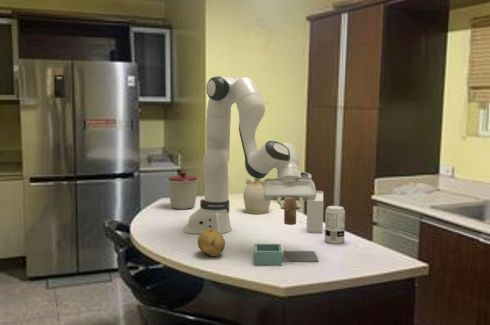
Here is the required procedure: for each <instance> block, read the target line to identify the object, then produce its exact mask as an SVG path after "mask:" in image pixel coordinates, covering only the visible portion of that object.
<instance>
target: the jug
mask: <svg viewBox="0 0 490 325" xmlns="http://www.w3.org/2000/svg"><path fill="white" fill-rule="evenodd" d="M253 178H254V177H253ZM266 179H267V178H265V179H264V180H266ZM245 184H246V186H245V188H244V190H243V194H242V196H243V202H244V208H245V212H246V213H248V214H251V215H264V214H268V212H269V210H270V205H271V202H272V200H265V199H264V187H263V181H261V179H259V178H254V181H251V179H248V178H246V179H245Z"/></svg>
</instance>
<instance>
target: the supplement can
mask: <svg viewBox="0 0 490 325" xmlns="http://www.w3.org/2000/svg"><path fill="white" fill-rule="evenodd" d="M345 221H346V210H345V209H344V207H343V206H341V205H329V206H327V207H326V209H325V221H324V223H325V224H324V241H326V243H329V244H332V245H333V244H335V245H337V244H343V242H344V241H345V229H346V228H345V226H346V225H345V224H346V222H345Z"/></svg>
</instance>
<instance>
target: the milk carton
mask: <svg viewBox="0 0 490 325" xmlns="http://www.w3.org/2000/svg"><path fill="white" fill-rule="evenodd" d="M323 228H324V190H316V198H315V200H313V201H311V200H306V232H307V233H319V234H320V233H322V234H323Z"/></svg>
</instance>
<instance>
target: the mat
mask: <svg viewBox="0 0 490 325" xmlns="http://www.w3.org/2000/svg"><path fill="white" fill-rule="evenodd" d="M283 254H284V256H285V257H284V258H285V260H286V261H285V262H287V263H293V262H295V263H319V259H318V256H317V255H316V252H315V251H314V250H284V251H283Z"/></svg>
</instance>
